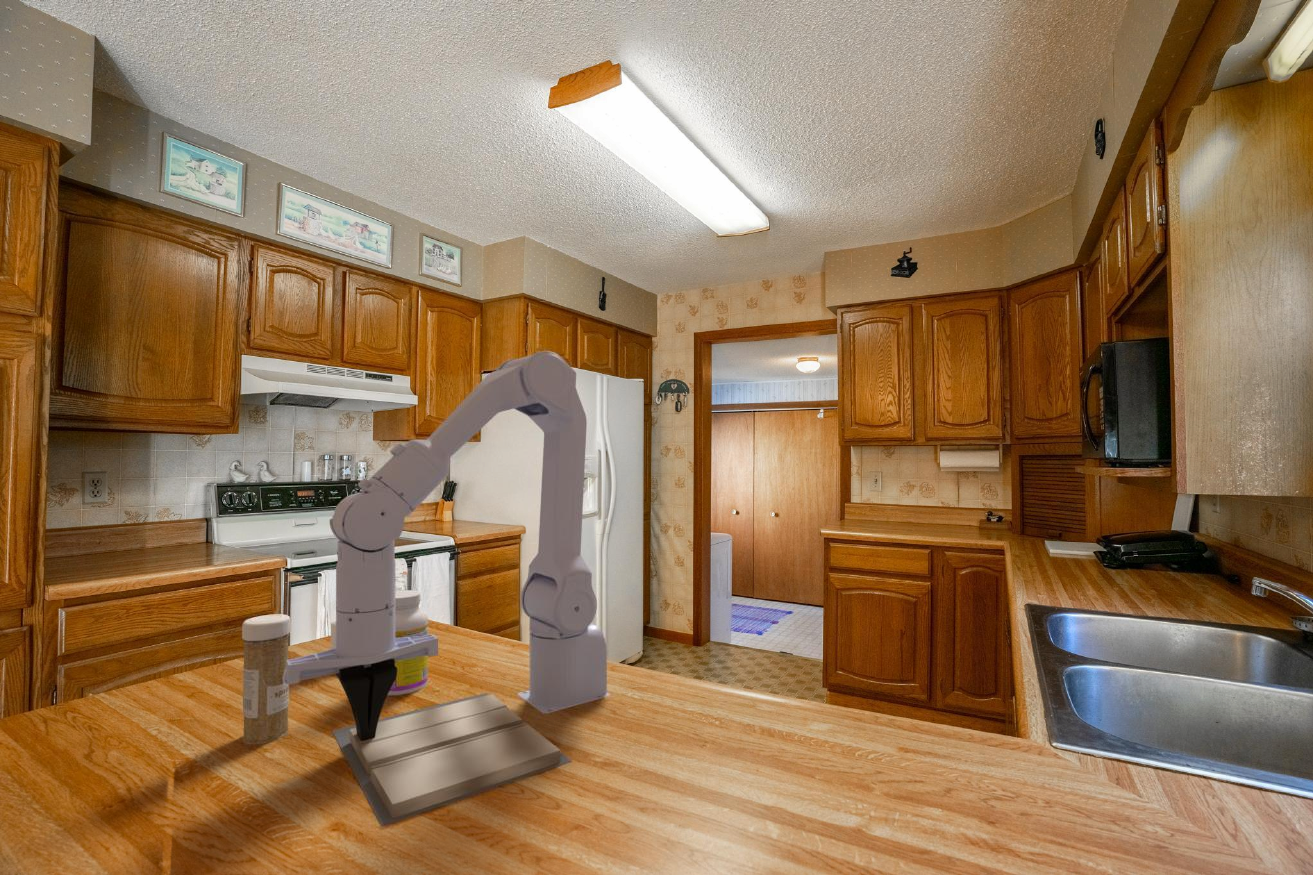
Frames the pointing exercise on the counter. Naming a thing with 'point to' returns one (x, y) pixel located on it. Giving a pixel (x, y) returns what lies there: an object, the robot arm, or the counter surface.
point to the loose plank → (432, 729)
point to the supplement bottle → (410, 625)
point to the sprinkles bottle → (265, 678)
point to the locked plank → (461, 768)
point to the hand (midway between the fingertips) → (365, 736)
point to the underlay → (370, 790)
